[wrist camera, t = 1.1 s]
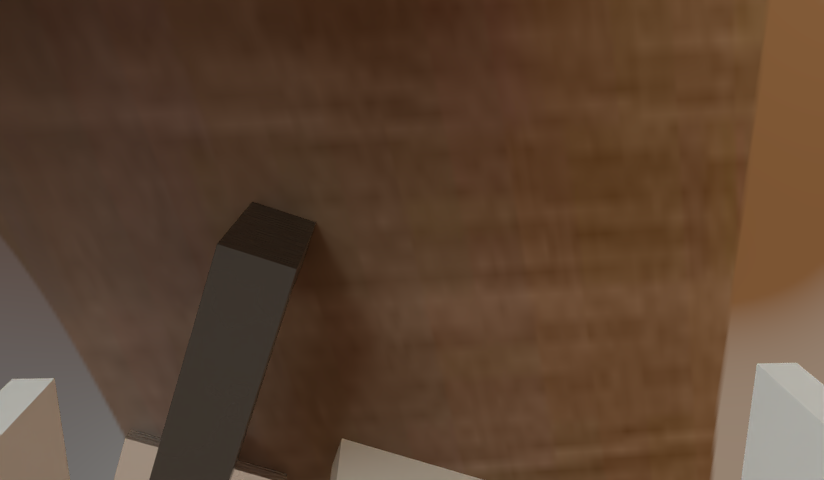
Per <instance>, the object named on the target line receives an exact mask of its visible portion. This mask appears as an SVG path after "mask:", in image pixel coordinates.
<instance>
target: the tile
mask: <svg viewBox="0 0 824 480" xmlns="http://www.w3.org/2000/svg"><path fill="white" fill-rule="evenodd" d="M330 480H482V479H479V478H476V477H472V476H469V475H465V474H462V473H459V472H455V471H452V470H448V469H445V468H441V467H438V466H435V465H431V464H428V463H424V462H421V461H418V460H414V459H411V458H407V457H404V456H401V455H397V454H394V453H390V452H387V451H384V450H380V449H377V448H373V447H370V446H366V445H363V444H360V443H356V442H353V441H349V440H346V439H343V438H342V439H341V442H340V445H339V448H338V450H337V453H336V456H335V459H334V461H333V464H332V470H331V477H330Z"/></svg>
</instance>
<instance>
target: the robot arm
mask: <svg viewBox="0 0 824 480" xmlns="http://www.w3.org/2000/svg"><path fill="white" fill-rule="evenodd" d="M0 480H70V477H69V470H68V464H67V457H66V450H65V444H64V437H63V431H62V424H61V417H60V411H59V404H58V398H57V391H56V385H55V378H36V379H12V380H11V381H10V382H9V383H7V384H6V385H5V386H4V387H3V388H2V389H1V390H0ZM741 480H824V385H823V384H822V383H821V382H820V381H818V380H817V379H816V378H815V377H813V376H812V375H811V374H810V373H809V372H807V371H806V370H805V369H804V368H802V367H801V366H800V365H799V364H798V363H761V364H760V363H757V366H756V375H755V382H754V389H753V397H752V404H751V411H750V419H749V426H748V433H747V441H746V449H745V455H744V463H743V470H742V478H741Z"/></svg>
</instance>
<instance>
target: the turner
mask: <svg viewBox="0 0 824 480" xmlns="http://www.w3.org/2000/svg"><path fill="white" fill-rule="evenodd" d="M315 224H316V222H313V221H310V220H307V219H304V218H301V217H298V216H294V215H291V214H288V213H285V212H282V211H279V210H276V209H273V208H270V207H267V206H264V205H261V204H258V203H255V202H252V203H251V204H250V205H249V207H248V208H247V209H246V210H245V211H244V213H243V214H242V215H241V216H240V217H239V219H238V220H237V221H236V222H235V223H234V225H233V226H232V227H231V228H230V229H229V231H228V232H227V233H226V234H225V235H224V237H223V238H222V239H221V240H220V241H219V243H218V244H217V247H216V250H215V254H214V257H213V261H212V264H211V267H210V271H209V274H208V278H207V281H206V285H205V288H204V292H203V295H202V299H201V302H200V305H199V309H198V312H197V316H196V319H195V323H194V326H193V330H192V333H191V337H190V340H189V344H188V347H187V350H186V354H185V357H184V361H183V364H182V368H181V371H180V375H179V378H178V382H177V385H176V389H175V392H174V395H173V399H172V402H171V406H170V409H169V413H168V416H167V420H166V423H165V427H164V430H163V434H162V437H161V438H158V437H155V436H151V435H148V434H144V433H141V432H137V431H134V430H130V432H129V433H128V435H127V436H126V438H125V441H124V445H123V448H122V452H121V456H120V459H119V463H118V466H117V470H116V474H115V477H114V480H286V477H287V474H284V473H281V472H277V471H274V470H270V469H267V468H263V467H260V466H256V465H253V464H249V463H246V462H242V461H239V460H238V456H239V453H240V450H241V447H242V444H243V441H244V438H245V435H246V432H247V428H248V425H249V422H250V419H251V416H252V413H253V410H254V407H255V404H256V401H257V397H258V394H259V391H260V388H261V385H262V382H263V379H264V376H265V373H266V369H267V366H268V363H269V360H270V357H271V354H272V351H273V348H274V345H275V341H276V338H277V335H278V332H279V329H280V326H281V323H282V320H283V317H284V313H285V310H286V307H287V304H288V301H289V298H290V295H291V292H292V289H293V286H294V284H295V281H296V279H297V276H298V274H299V271H300V269H301V266H302V264H303V261H304V258H305V255H306V251H307V248H308V245H309V242H310V239H311V236H312V233H313V230H314V227H315Z"/></svg>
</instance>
